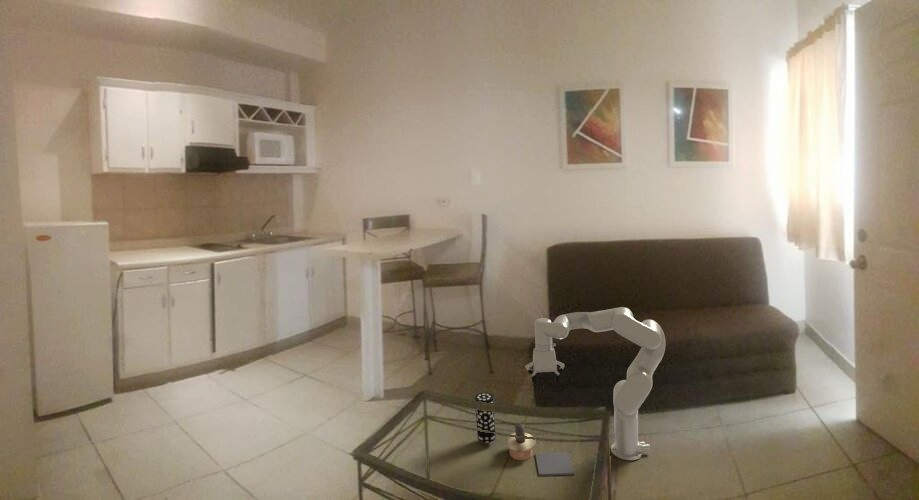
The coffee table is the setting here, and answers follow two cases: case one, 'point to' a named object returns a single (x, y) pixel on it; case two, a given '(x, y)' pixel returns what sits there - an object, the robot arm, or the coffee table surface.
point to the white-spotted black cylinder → (485, 419)
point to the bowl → (521, 454)
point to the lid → (520, 440)
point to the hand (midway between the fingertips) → (545, 382)
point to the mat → (554, 464)
